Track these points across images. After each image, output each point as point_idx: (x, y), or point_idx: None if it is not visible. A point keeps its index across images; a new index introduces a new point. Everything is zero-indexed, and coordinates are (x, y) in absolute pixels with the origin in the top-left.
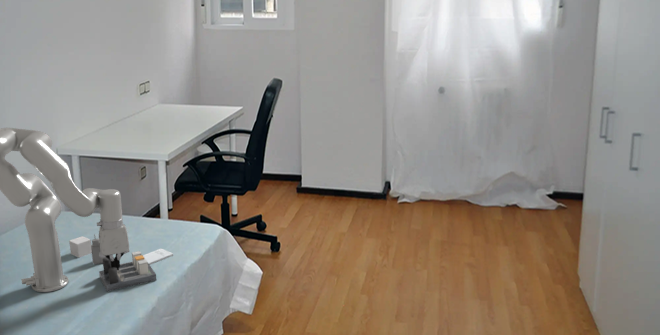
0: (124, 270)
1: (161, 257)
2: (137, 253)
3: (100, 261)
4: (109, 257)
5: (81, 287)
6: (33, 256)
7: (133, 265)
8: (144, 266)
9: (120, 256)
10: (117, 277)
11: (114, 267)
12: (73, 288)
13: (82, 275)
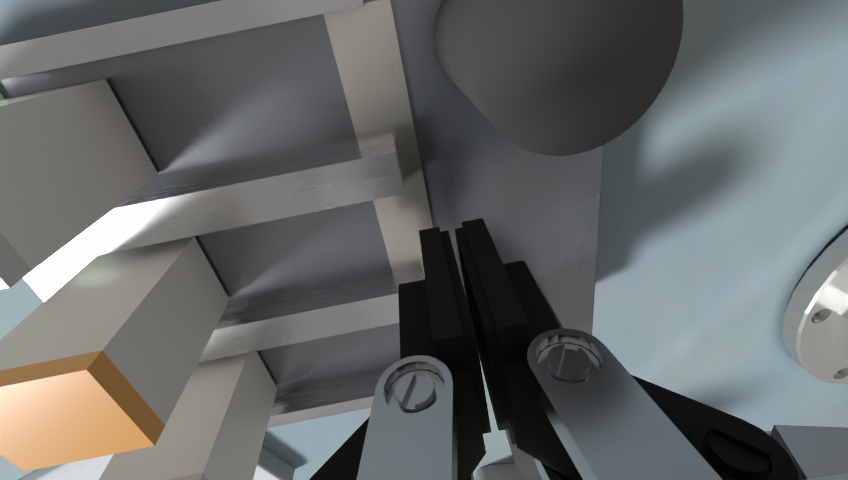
0: (353, 290)
1: (73, 470)
2: None
3: (522, 476)
4: (653, 422)
5: (756, 161)
6: None
7: (268, 374)
8: None
9: (372, 434)
10: (452, 4)
11: (490, 242)
12: (819, 163)
13: (667, 351)
